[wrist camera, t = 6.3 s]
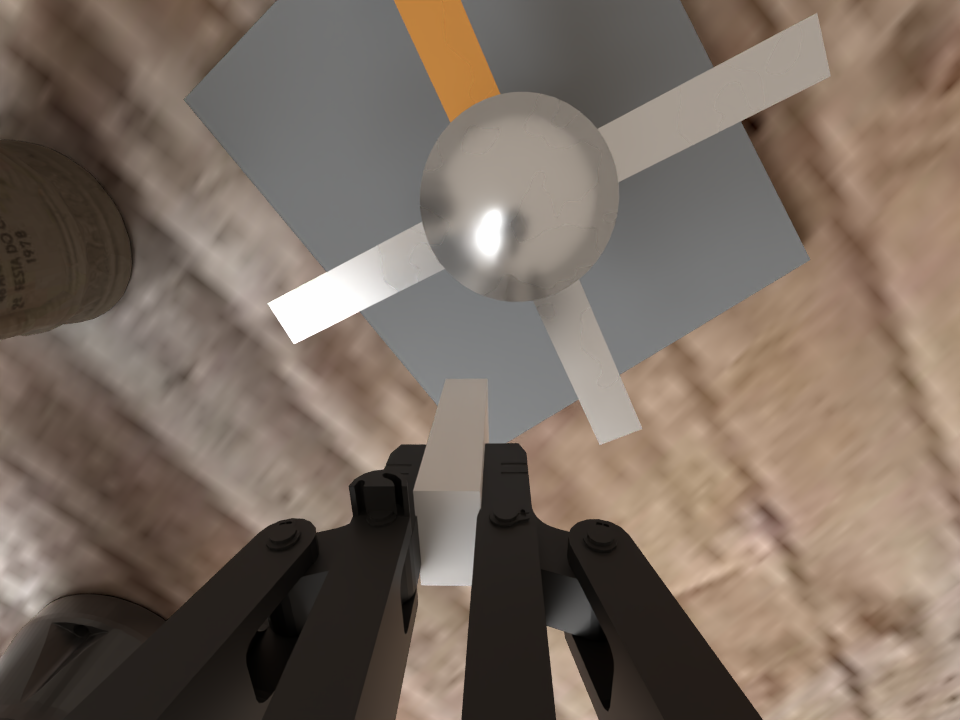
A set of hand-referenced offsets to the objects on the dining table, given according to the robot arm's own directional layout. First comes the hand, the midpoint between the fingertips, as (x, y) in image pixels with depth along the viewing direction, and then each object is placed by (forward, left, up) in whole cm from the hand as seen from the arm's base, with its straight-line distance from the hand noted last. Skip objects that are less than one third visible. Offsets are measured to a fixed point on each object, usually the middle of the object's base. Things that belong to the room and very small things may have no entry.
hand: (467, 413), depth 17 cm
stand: (+6, +5, -13) cm, 15 cm away
